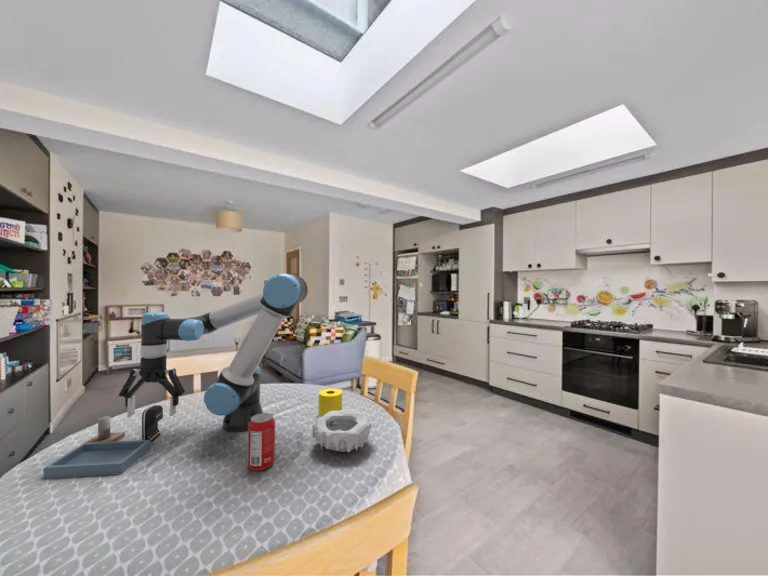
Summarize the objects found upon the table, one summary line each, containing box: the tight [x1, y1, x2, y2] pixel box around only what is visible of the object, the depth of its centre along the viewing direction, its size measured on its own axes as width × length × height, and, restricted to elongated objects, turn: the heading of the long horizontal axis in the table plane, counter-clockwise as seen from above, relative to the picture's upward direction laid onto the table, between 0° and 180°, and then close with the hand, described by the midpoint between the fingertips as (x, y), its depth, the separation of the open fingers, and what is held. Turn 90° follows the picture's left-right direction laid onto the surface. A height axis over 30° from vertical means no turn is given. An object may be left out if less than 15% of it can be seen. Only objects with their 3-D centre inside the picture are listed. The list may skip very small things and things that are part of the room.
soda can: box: [247, 412, 276, 471], centre depth 97 cm, size 8×8×15 cm
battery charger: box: [141, 404, 164, 443], centre depth 112 cm, size 7×4×11 cm, turn 8°
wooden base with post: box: [84, 415, 126, 443], centre depth 109 cm, size 8×8×9 cm
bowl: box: [311, 408, 372, 454], centre depth 109 cm, size 21×20×10 cm
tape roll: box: [318, 388, 343, 417], centre depth 136 cm, size 10×10×9 cm
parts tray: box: [43, 439, 152, 479], centre depth 97 cm, size 20×14×3 cm
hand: (152, 415), depth 112 cm, fingers open, 13 cm apart
